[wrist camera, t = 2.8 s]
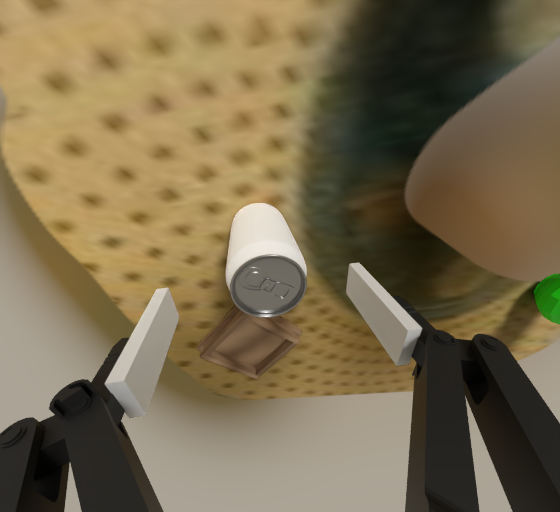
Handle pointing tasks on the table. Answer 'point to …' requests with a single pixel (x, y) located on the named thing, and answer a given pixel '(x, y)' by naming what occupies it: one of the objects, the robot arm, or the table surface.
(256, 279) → the can
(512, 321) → the table surface
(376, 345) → the table surface
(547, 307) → the plastic bottle
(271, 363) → the tray
